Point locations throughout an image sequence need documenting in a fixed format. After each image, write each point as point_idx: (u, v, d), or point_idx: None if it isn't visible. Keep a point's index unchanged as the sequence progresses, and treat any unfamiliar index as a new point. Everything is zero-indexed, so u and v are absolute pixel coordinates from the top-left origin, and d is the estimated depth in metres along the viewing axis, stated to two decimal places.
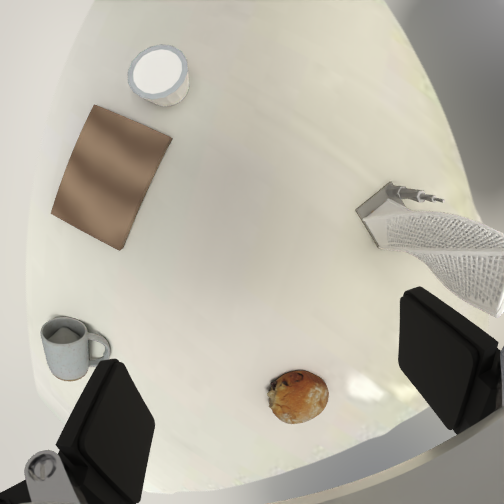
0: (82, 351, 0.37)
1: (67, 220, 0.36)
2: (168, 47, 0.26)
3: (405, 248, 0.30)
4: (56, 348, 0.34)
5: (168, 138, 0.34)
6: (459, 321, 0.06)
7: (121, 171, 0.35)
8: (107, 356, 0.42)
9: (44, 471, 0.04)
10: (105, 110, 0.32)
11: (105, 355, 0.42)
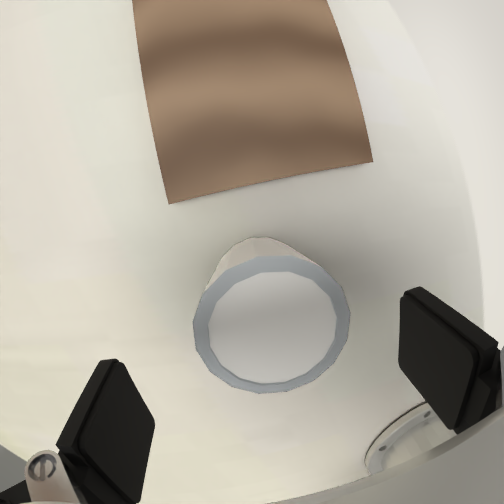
0: None
1: None
2: (293, 385, 0.13)
3: None
4: None
5: (170, 199, 0.16)
6: (459, 321, 0.06)
7: (213, 78, 0.15)
8: None
9: (44, 471, 0.04)
10: (341, 164, 0.16)
11: None
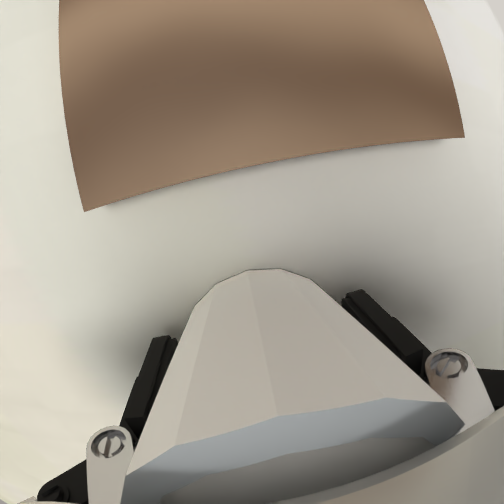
0: None
1: None
2: None
3: None
4: None
5: (86, 201, 0.07)
6: (388, 325, 0.07)
7: None
8: None
9: (110, 447, 0.05)
10: (419, 134, 0.08)
11: None
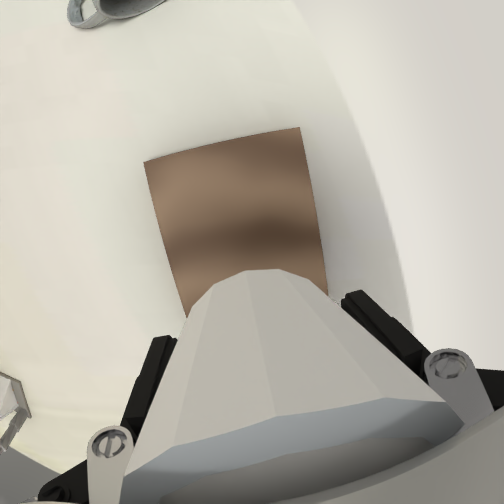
0: None
1: (260, 137, 0.21)
2: None
3: None
4: None
5: None
6: (387, 325, 0.07)
7: (222, 270, 0.24)
8: (69, 12, 0.17)
9: (110, 447, 0.05)
10: None
11: (74, 10, 0.17)
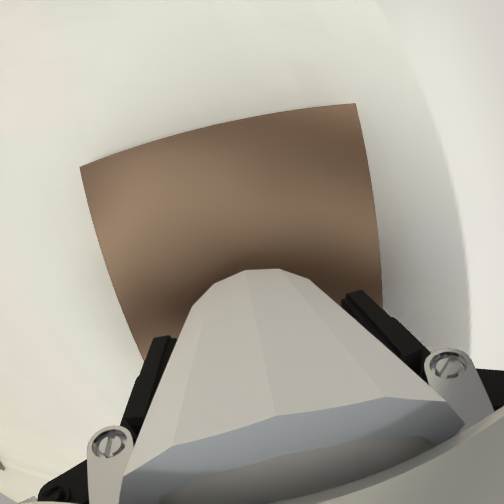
0: None
1: (288, 118, 0.11)
2: None
3: None
4: None
5: None
6: (388, 325, 0.07)
7: None
8: None
9: (110, 447, 0.05)
10: None
11: None
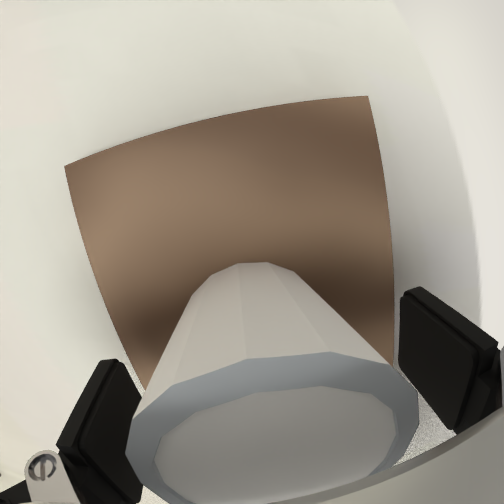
0: None
1: (295, 110, 0.10)
2: None
3: None
4: None
5: None
6: (459, 321, 0.06)
7: None
8: None
9: (44, 471, 0.04)
10: None
11: None
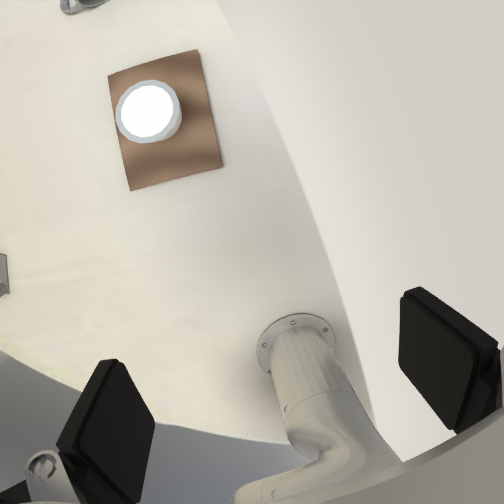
0: None
1: (173, 56, 0.31)
2: (155, 137, 0.28)
3: None
4: None
5: (130, 189, 0.35)
6: (459, 321, 0.06)
7: None
8: (61, 4, 0.25)
9: (44, 471, 0.04)
10: (205, 169, 0.36)
11: (64, 2, 0.25)
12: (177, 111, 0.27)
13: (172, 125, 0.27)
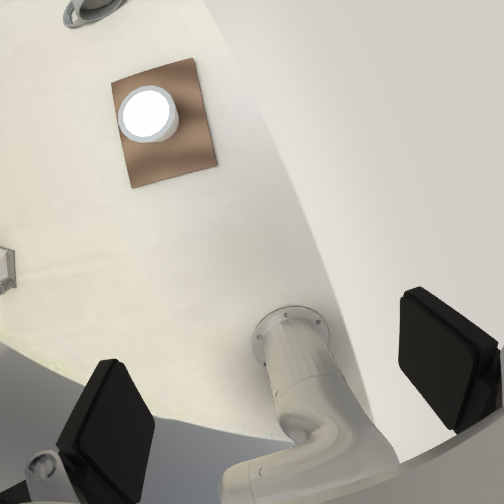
0: (74, 7, 0.27)
1: (171, 65, 0.34)
2: (153, 137, 0.30)
3: None
4: None
5: (132, 186, 0.38)
6: (459, 321, 0.06)
7: None
8: (64, 18, 0.29)
9: (44, 471, 0.04)
10: (200, 168, 0.38)
11: (67, 17, 0.30)
12: (173, 113, 0.30)
13: (169, 126, 0.30)
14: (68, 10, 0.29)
